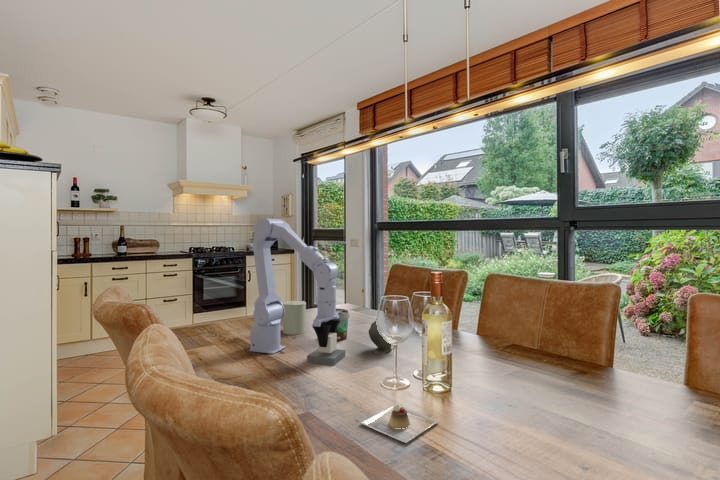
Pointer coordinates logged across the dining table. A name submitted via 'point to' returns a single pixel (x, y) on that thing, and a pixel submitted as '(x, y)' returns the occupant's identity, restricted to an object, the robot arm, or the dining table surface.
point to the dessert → (397, 419)
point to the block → (329, 344)
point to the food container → (342, 324)
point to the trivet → (326, 357)
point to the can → (294, 317)
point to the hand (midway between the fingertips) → (326, 344)
